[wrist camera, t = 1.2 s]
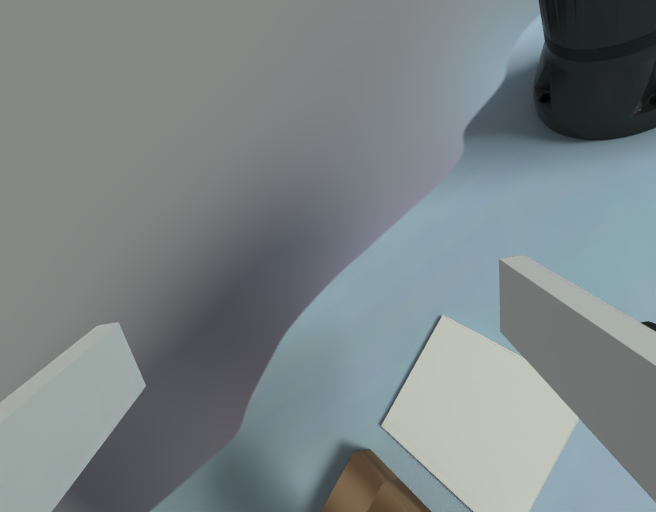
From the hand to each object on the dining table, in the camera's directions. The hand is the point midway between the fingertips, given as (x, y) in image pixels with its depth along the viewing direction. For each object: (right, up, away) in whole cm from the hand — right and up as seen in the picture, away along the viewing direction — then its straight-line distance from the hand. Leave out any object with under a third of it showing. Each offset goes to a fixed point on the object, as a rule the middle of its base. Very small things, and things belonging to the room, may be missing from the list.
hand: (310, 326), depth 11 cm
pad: (+15, -13, +21) cm, 29 cm away
